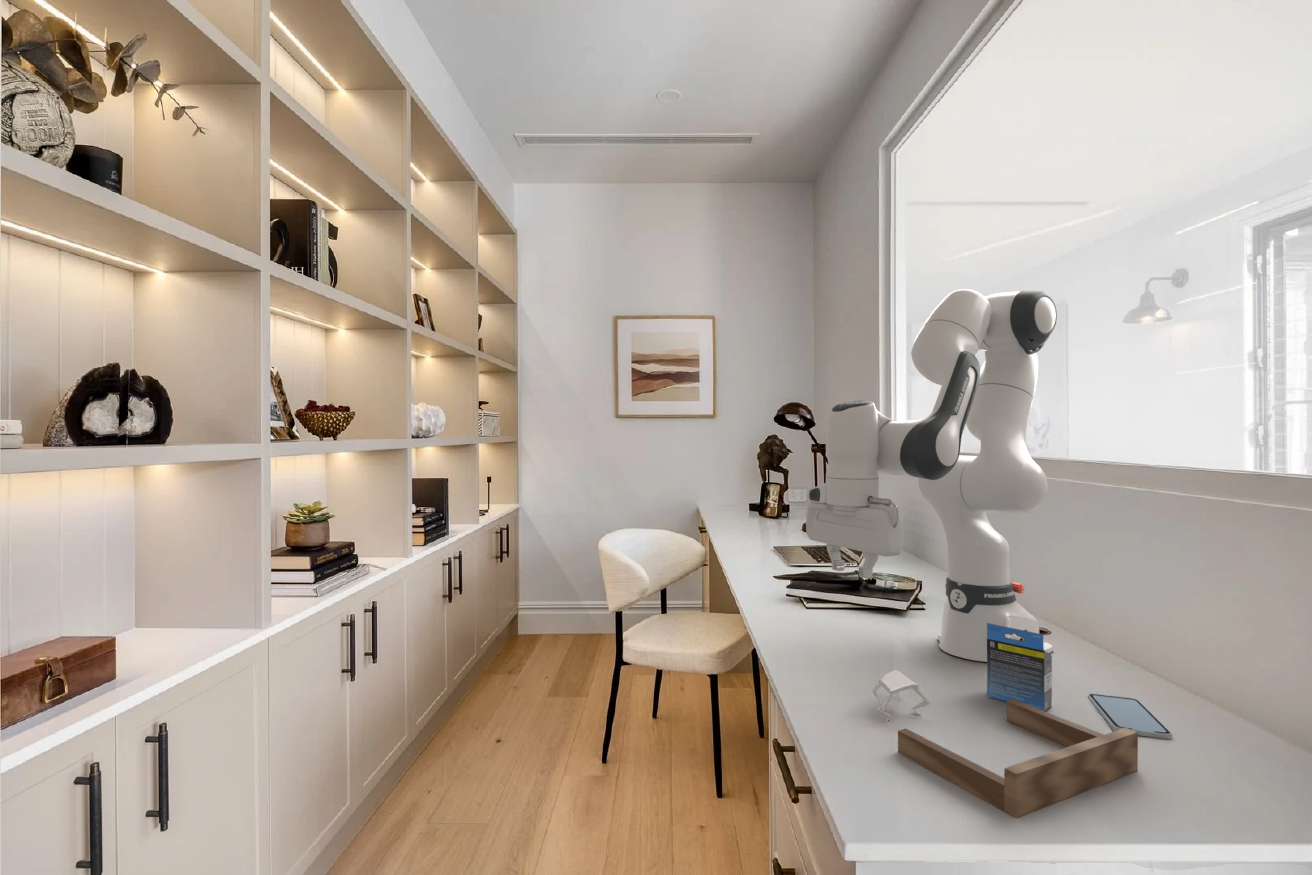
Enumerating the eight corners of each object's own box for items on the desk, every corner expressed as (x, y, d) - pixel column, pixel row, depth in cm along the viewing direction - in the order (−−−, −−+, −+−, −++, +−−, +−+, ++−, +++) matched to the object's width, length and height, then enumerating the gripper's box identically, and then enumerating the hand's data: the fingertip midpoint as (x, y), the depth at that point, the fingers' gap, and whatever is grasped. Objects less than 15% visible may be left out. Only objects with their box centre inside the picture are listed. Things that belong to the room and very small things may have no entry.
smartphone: (1138, 698, 110) (1175, 735, 96) (1137, 704, 110) (1174, 742, 96) (1085, 692, 113) (1114, 727, 98) (1085, 698, 113) (1114, 734, 98)
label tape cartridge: (1053, 706, 108) (1053, 629, 108) (1044, 713, 105) (1044, 634, 105) (995, 690, 114) (995, 618, 114) (985, 696, 112) (985, 622, 112)
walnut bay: (1013, 719, 103) (1013, 686, 103) (1137, 770, 87) (1137, 732, 87) (897, 752, 92) (897, 715, 92) (1016, 817, 77) (1016, 774, 77)
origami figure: (936, 727, 100) (936, 694, 100) (878, 723, 102) (878, 691, 102) (917, 696, 112) (917, 666, 112) (865, 693, 114) (865, 664, 114)
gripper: (912, 498, 109) (911, 584, 109) (826, 489, 127) (826, 562, 128) (883, 500, 106) (882, 588, 106) (800, 490, 125) (800, 565, 125)
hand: (851, 573), depth 117 cm, fingers open, 5 cm apart
